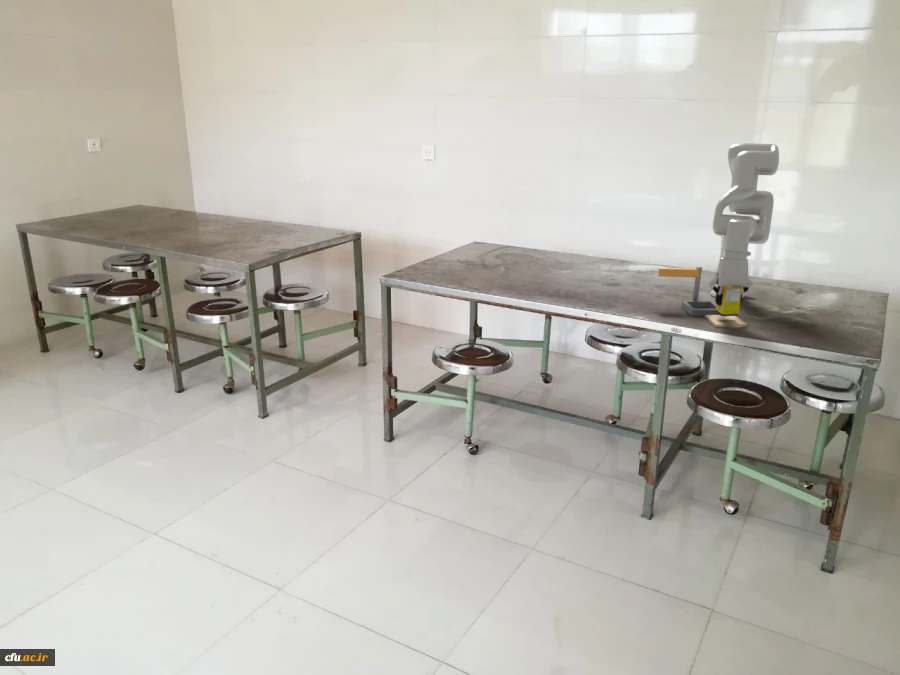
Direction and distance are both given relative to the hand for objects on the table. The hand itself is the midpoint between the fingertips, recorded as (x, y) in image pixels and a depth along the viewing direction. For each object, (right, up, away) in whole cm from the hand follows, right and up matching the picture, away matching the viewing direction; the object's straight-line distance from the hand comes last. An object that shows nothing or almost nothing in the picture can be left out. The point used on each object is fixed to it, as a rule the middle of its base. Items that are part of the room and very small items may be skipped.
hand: (727, 304), depth 241 cm
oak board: (0, -6, +2) cm, 7 cm away
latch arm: (-11, +1, +22) cm, 25 cm away
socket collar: (-4, -2, +14) cm, 15 cm away
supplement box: (0, -4, +1) cm, 4 cm away
